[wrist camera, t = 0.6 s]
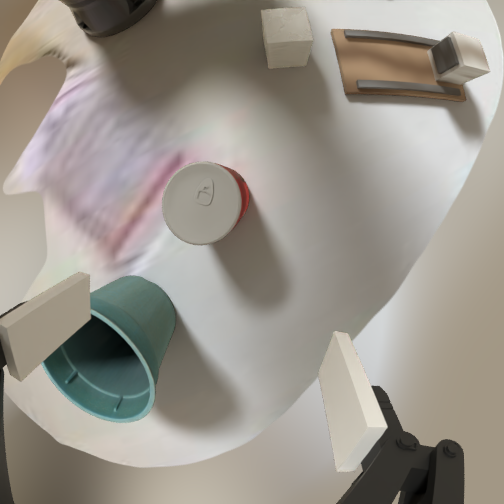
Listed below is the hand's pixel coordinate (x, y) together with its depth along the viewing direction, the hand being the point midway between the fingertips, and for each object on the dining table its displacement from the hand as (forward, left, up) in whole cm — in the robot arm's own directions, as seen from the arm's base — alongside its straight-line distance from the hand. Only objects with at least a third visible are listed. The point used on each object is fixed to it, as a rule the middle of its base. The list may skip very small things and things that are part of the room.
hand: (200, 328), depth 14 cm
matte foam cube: (-24, +9, -25) cm, 36 cm away
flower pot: (+10, -17, -25) cm, 32 cm away
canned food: (-5, -2, -25) cm, 26 cm away
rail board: (-22, +26, -25) cm, 42 cm away
